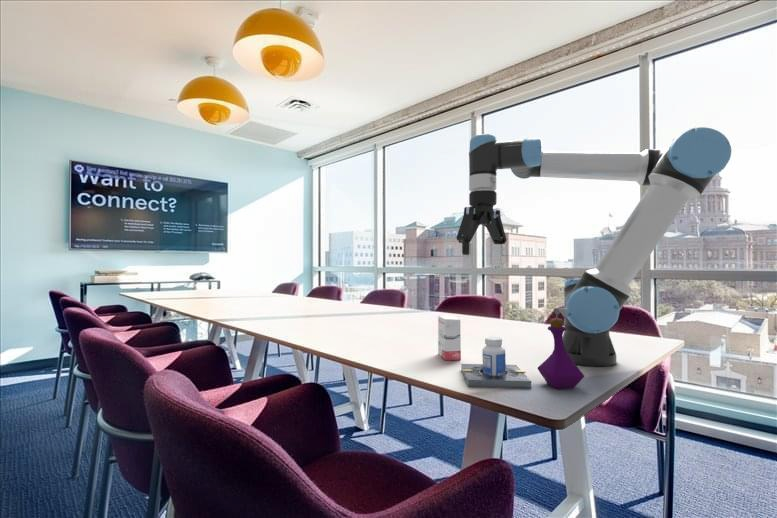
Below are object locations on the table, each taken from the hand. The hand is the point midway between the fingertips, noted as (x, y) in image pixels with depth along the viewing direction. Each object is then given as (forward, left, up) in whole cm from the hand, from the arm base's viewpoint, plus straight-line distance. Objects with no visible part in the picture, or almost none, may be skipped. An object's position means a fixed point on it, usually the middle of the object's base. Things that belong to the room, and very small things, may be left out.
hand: (482, 266), depth 115 cm
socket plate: (0, +16, -27) cm, 31 cm away
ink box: (+9, -5, -27) cm, 29 cm away
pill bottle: (0, +16, -27) cm, 31 cm away
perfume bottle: (-14, +21, -27) cm, 37 cm away
